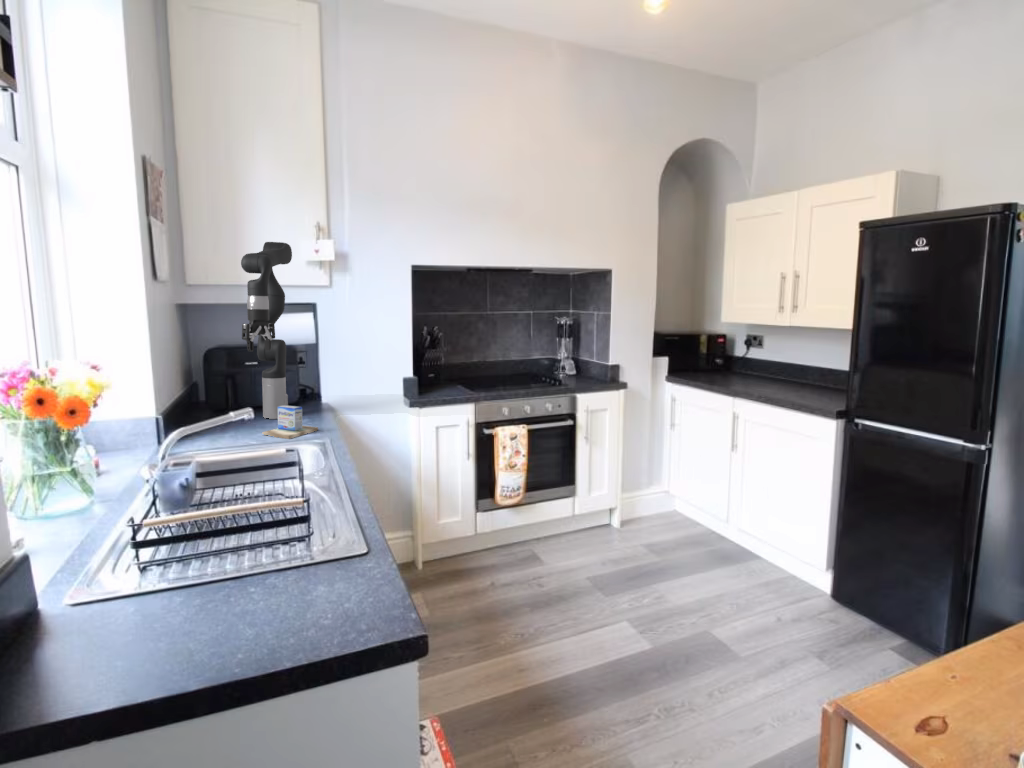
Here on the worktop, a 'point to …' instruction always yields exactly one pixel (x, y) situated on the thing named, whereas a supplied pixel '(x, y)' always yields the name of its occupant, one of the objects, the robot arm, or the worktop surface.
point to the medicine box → (289, 418)
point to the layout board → (290, 432)
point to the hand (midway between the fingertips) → (259, 350)
